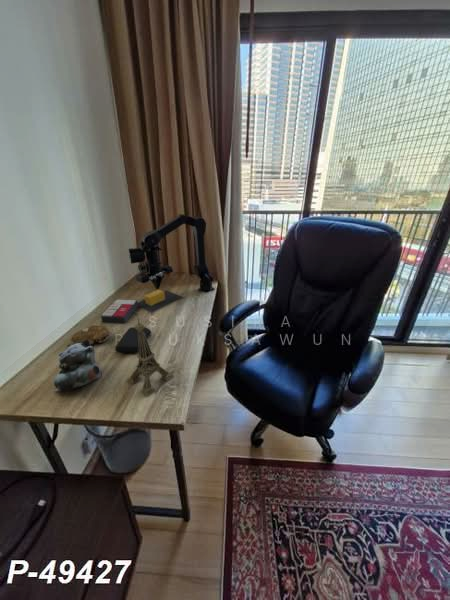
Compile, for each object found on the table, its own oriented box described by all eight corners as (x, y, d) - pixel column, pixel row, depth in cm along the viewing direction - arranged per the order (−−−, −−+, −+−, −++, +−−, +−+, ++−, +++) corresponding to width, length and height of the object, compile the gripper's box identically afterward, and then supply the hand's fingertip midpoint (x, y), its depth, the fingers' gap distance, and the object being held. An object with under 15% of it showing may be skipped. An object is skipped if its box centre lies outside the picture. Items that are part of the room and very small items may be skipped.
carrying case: (141, 355, 93) (154, 332, 106) (140, 348, 91) (153, 326, 104) (114, 354, 93) (130, 331, 106) (112, 347, 92) (129, 325, 105)
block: (158, 289, 132) (144, 295, 126) (164, 291, 129) (149, 297, 123) (159, 296, 134) (145, 303, 128) (165, 299, 131) (151, 305, 125)
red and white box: (99, 315, 112) (116, 298, 125) (102, 323, 114) (118, 305, 127) (123, 316, 110) (137, 299, 123) (125, 324, 113) (139, 306, 125)
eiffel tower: (154, 362, 89) (141, 300, 77) (173, 376, 83) (163, 311, 71) (127, 380, 82) (109, 314, 70) (146, 396, 76) (130, 327, 64)
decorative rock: (118, 331, 107) (85, 331, 108) (116, 323, 105) (82, 323, 107) (104, 347, 97) (68, 347, 98) (102, 338, 95) (64, 338, 96)
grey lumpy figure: (45, 394, 77) (36, 349, 77) (79, 380, 88) (72, 341, 88) (80, 391, 72) (72, 344, 72) (112, 377, 83) (104, 336, 83)
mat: (166, 291, 141) (166, 290, 141) (183, 297, 133) (183, 297, 133) (135, 304, 128) (135, 304, 127) (151, 313, 120) (151, 312, 120)
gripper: (158, 252, 132) (162, 279, 139) (126, 261, 119) (132, 291, 127) (171, 256, 126) (175, 284, 133) (139, 266, 113) (145, 297, 120)
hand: (157, 289), depth 128 cm, fingers closed
